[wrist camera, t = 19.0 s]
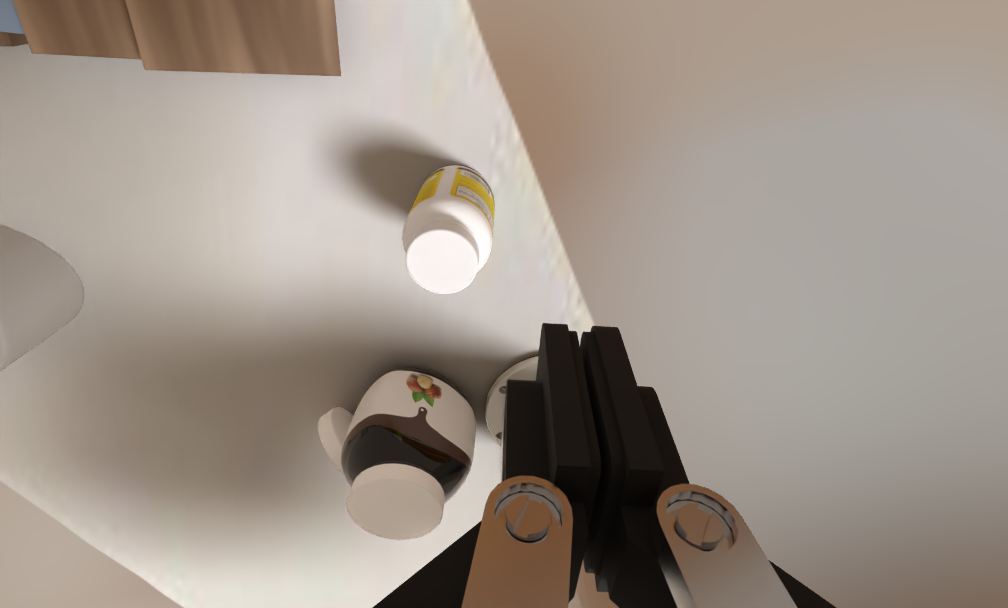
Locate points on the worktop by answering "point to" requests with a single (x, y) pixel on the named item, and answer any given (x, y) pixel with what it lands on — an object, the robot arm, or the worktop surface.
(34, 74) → the worktop surface
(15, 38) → the domino
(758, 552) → the robot arm
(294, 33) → the domino
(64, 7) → the domino
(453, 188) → the supplement bottle
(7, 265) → the lumpy-topped squat cylinder
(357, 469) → the spread jar
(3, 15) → the blue domino
